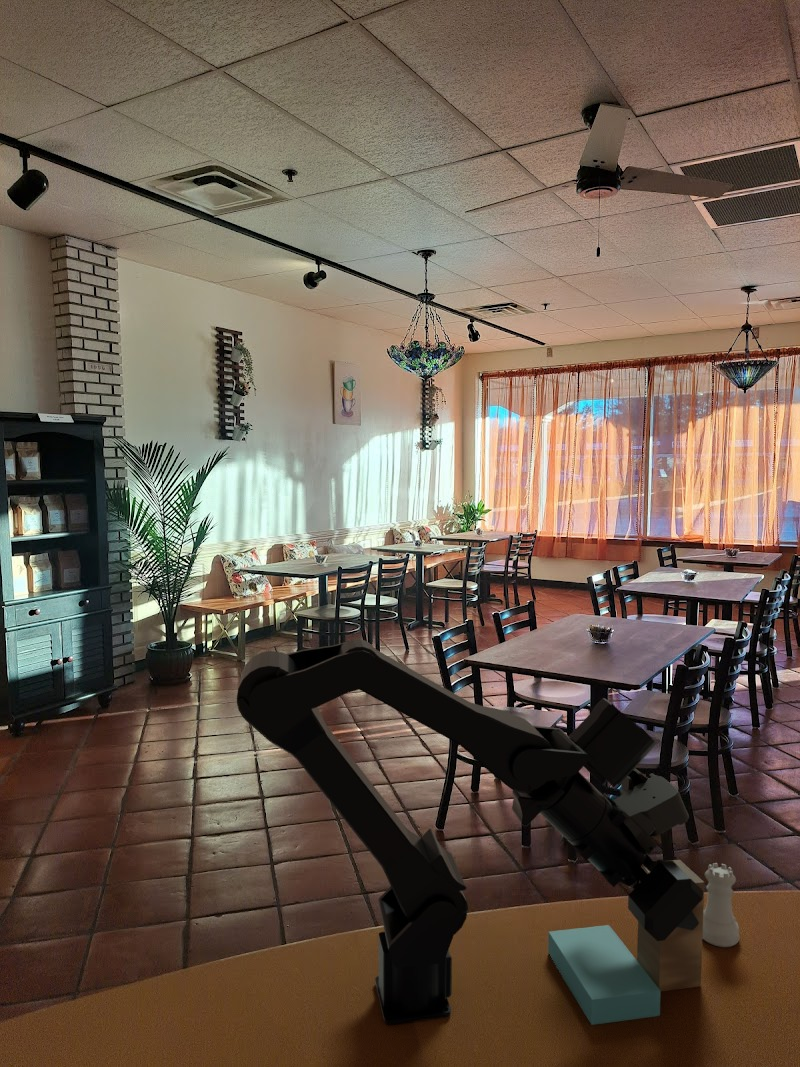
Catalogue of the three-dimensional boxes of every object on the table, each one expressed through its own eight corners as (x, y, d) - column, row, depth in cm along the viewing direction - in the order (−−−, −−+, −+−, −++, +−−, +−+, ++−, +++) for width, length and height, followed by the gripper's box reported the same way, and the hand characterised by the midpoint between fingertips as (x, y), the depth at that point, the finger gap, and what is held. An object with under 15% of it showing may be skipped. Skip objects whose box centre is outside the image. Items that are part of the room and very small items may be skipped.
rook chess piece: (732, 926, 88) (734, 859, 88) (745, 950, 84) (748, 880, 83) (692, 924, 89) (694, 857, 88) (703, 948, 84) (705, 877, 84)
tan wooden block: (659, 991, 77) (662, 886, 76) (637, 963, 82) (639, 863, 81) (700, 986, 78) (704, 882, 77) (676, 958, 82) (679, 859, 82)
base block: (591, 1025, 72) (592, 999, 72) (548, 953, 83) (548, 931, 83) (659, 1015, 74) (660, 990, 73) (608, 946, 84) (608, 924, 84)
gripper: (686, 795, 68) (794, 904, 71) (600, 727, 87) (688, 816, 89) (600, 887, 68) (712, 994, 70) (532, 799, 86) (623, 886, 89)
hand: (682, 912), depth 80 cm, fingers closed on tan wooden block, 5 cm apart
